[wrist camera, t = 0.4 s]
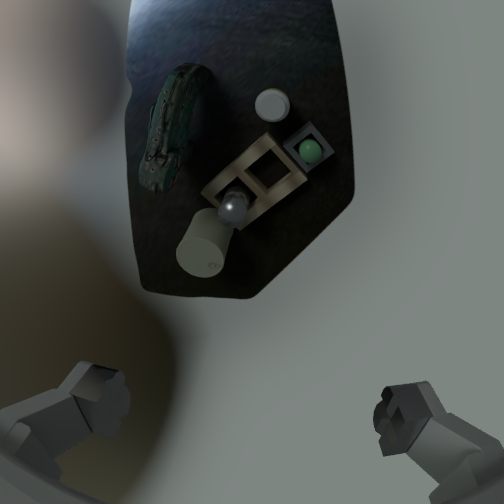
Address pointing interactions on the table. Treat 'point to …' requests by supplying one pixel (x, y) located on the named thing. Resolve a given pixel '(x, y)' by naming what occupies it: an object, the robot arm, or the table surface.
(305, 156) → the button
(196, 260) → the can
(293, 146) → the button box
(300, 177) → the rack
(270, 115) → the supplement bottle
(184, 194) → the table surface
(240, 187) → the seated billet
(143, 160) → the green curved lump
